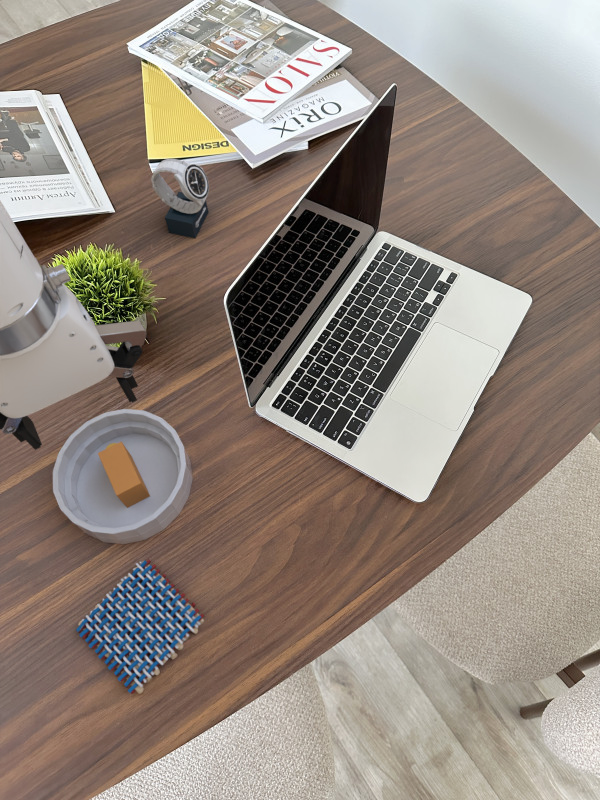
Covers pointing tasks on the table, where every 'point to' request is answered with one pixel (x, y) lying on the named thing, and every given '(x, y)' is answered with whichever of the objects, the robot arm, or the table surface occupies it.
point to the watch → (183, 196)
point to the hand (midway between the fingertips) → (82, 412)
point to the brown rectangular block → (123, 474)
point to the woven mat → (140, 625)
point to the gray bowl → (92, 490)
